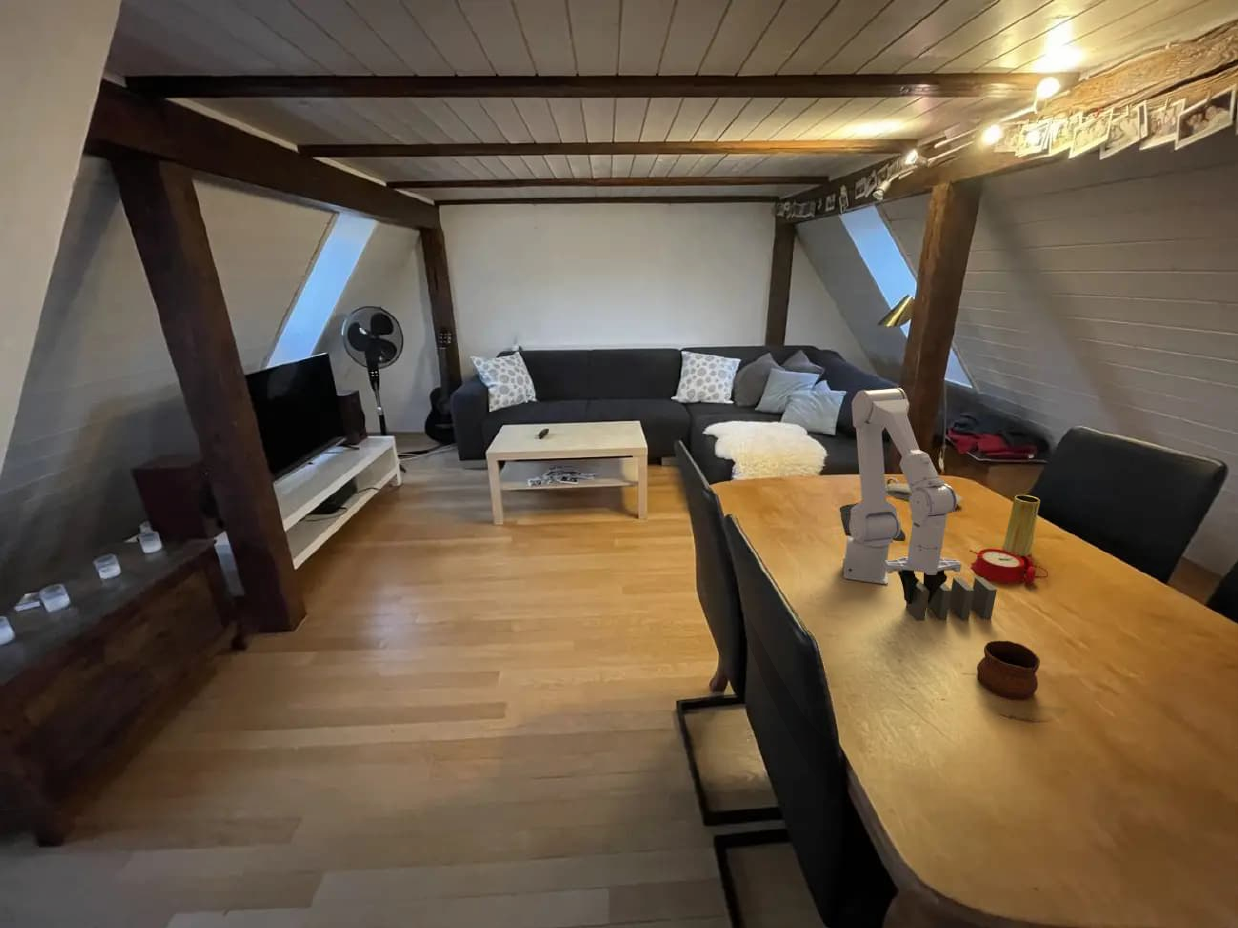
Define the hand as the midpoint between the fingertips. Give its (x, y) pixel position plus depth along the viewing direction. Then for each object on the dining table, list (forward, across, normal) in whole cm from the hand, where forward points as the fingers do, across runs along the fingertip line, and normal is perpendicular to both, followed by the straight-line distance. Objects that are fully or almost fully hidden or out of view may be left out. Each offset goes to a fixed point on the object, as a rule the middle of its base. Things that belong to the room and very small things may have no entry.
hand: (916, 601), depth 120 cm
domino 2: (+3, +9, 0) cm, 9 cm away
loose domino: (+3, 0, 0) cm, 3 cm away
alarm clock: (+3, +28, +16) cm, 33 cm away
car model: (+4, +30, +63) cm, 70 cm away
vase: (+3, +38, +27) cm, 47 cm away
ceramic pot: (+4, +5, -22) cm, 23 cm away
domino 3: (+3, +14, 0) cm, 14 cm away
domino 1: (+3, +4, 0) cm, 5 cm away
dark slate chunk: (+4, +8, +45) cm, 46 cm away
